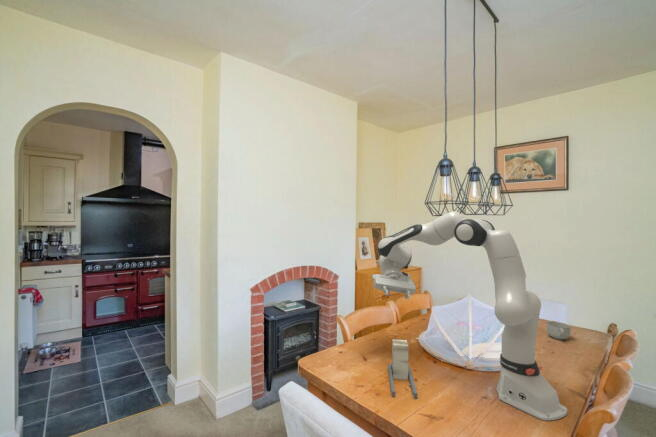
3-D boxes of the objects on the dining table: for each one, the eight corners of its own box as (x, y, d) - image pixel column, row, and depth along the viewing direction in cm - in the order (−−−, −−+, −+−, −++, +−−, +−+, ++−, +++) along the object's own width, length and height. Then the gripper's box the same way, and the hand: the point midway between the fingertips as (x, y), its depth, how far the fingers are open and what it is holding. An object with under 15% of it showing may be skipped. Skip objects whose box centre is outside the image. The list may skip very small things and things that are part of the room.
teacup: (547, 332, 185) (547, 319, 185) (570, 337, 178) (570, 323, 178) (546, 340, 173) (546, 325, 173) (571, 345, 167) (571, 330, 167)
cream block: (392, 371, 135) (392, 339, 135) (406, 372, 134) (406, 340, 134) (393, 378, 129) (393, 345, 129) (408, 379, 128) (408, 345, 128)
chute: (386, 370, 138) (386, 363, 138) (410, 372, 137) (410, 365, 137) (390, 399, 116) (390, 391, 116) (418, 401, 115) (418, 393, 115)
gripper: (373, 268, 152) (378, 287, 140) (412, 275, 155) (420, 294, 143) (369, 278, 155) (373, 298, 143) (408, 284, 158) (415, 304, 146)
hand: (397, 296), depth 143 cm, fingers open, 8 cm apart
